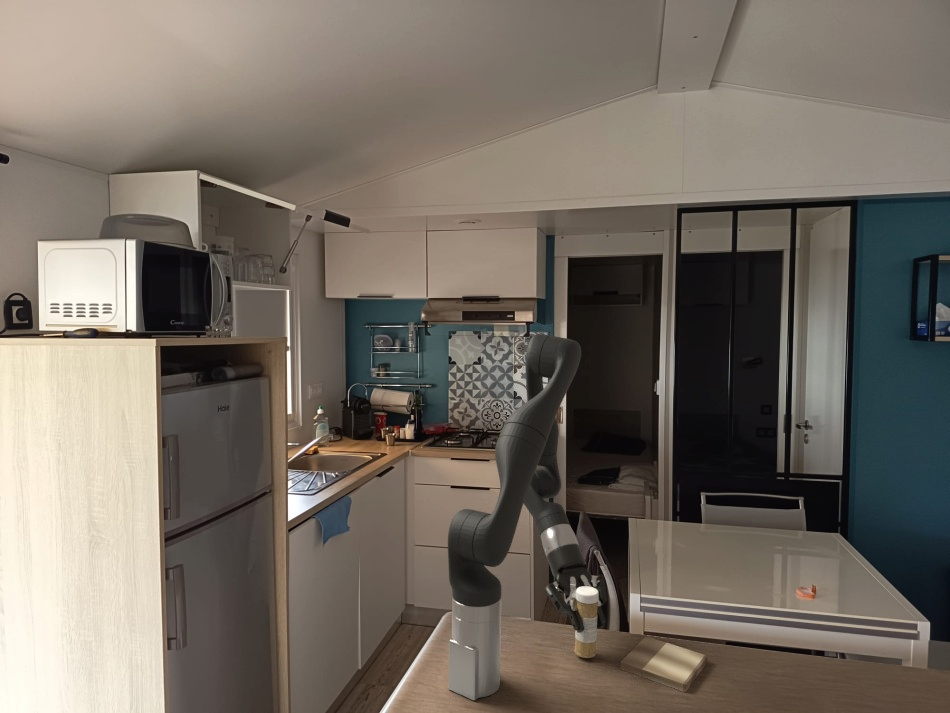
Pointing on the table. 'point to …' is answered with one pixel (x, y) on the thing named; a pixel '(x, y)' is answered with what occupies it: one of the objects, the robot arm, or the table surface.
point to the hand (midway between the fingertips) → (591, 628)
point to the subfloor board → (665, 663)
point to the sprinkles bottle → (587, 621)
